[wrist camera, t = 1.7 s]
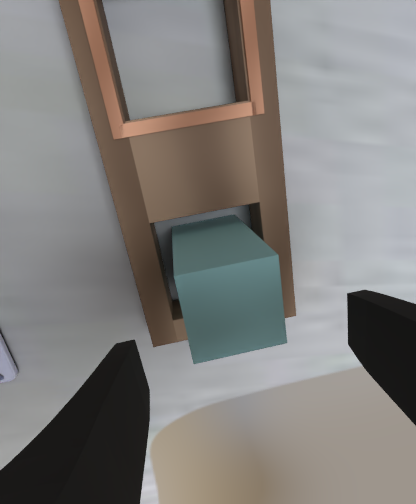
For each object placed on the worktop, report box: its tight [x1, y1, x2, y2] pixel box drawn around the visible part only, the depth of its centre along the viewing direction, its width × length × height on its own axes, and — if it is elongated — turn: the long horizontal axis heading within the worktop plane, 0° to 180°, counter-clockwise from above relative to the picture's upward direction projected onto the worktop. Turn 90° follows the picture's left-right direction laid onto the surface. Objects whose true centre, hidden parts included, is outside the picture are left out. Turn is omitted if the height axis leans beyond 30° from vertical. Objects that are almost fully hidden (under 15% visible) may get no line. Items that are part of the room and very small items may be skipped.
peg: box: [172, 215, 287, 364], centre depth 16 cm, size 4×4×8 cm
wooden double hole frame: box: [59, 0, 296, 347], centre depth 16 cm, size 9×20×3 cm, turn 10°
